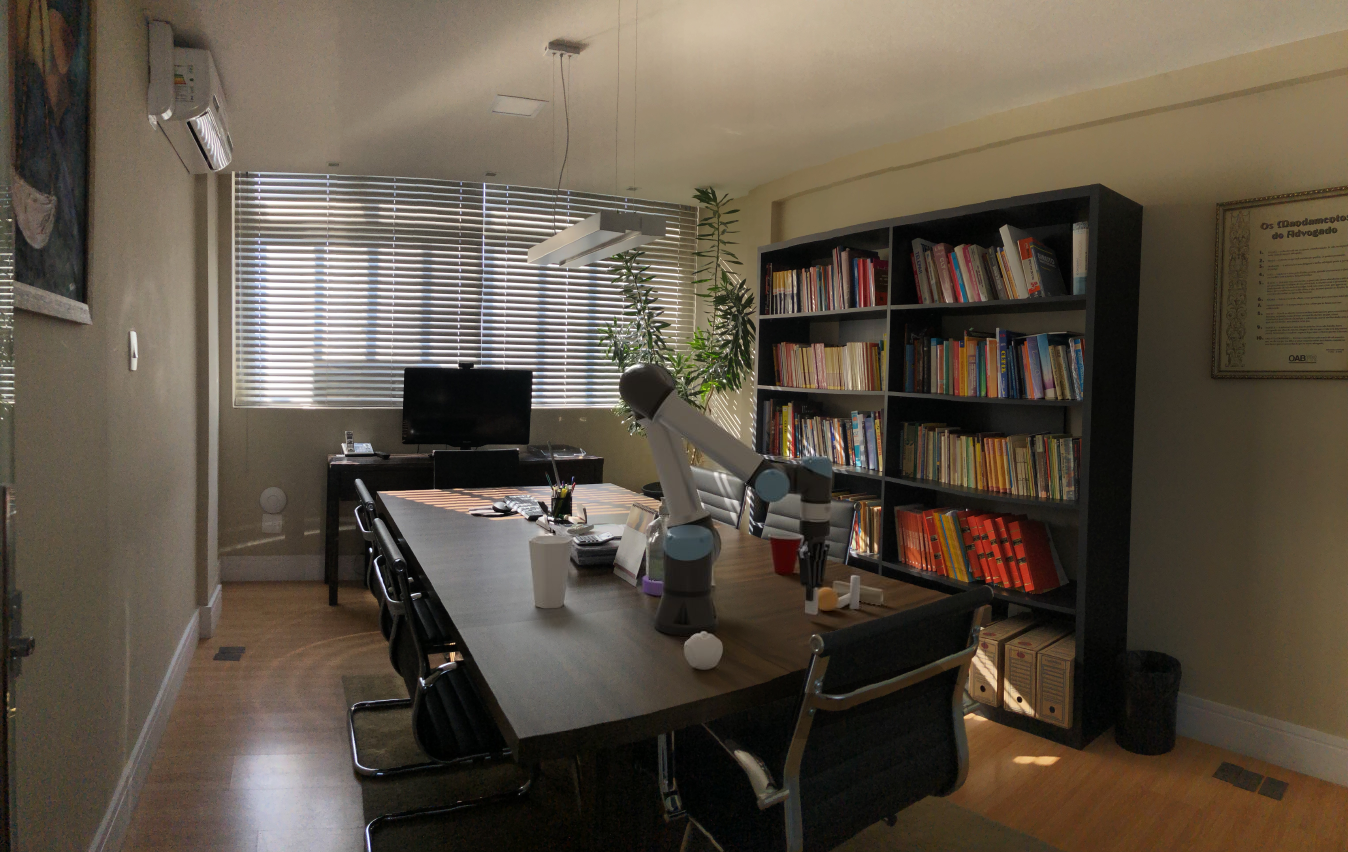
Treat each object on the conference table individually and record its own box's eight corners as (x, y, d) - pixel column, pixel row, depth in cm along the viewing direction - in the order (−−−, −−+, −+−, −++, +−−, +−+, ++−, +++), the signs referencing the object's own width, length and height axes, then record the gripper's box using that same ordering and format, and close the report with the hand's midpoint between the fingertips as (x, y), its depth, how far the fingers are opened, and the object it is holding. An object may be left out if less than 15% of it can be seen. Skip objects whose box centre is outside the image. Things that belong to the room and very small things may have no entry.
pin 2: (854, 609, 210) (856, 577, 210) (847, 607, 212) (848, 575, 212) (860, 608, 212) (862, 576, 211) (853, 606, 214) (855, 574, 213)
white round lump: (720, 662, 168) (721, 626, 168) (724, 675, 160) (725, 637, 160) (682, 661, 168) (683, 625, 167) (684, 675, 160) (685, 636, 160)
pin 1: (840, 597, 212) (852, 591, 218) (832, 600, 213) (845, 594, 220) (844, 606, 211) (856, 599, 218) (836, 609, 212) (849, 602, 219)
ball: (841, 603, 211) (836, 615, 206) (819, 602, 214) (813, 614, 209) (839, 583, 209) (834, 595, 204) (816, 582, 212) (811, 594, 207)
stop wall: (879, 605, 215) (880, 591, 215) (832, 595, 224) (832, 581, 223) (882, 604, 217) (883, 589, 216) (835, 594, 225) (836, 580, 225)
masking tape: (647, 597, 217) (648, 583, 217) (638, 586, 229) (638, 573, 228) (689, 595, 221) (689, 581, 220) (677, 585, 232) (678, 571, 232)
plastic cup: (800, 569, 255) (802, 531, 254) (802, 577, 244) (804, 538, 243) (766, 567, 256) (767, 530, 255) (766, 575, 245) (768, 536, 244)
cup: (560, 612, 200) (562, 544, 199) (522, 609, 202) (523, 542, 201) (575, 600, 211) (576, 536, 210) (538, 597, 213) (540, 533, 212)
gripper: (815, 524, 191) (811, 621, 192) (840, 517, 201) (837, 610, 202) (788, 520, 196) (784, 615, 197) (814, 514, 206) (810, 604, 207)
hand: (811, 612), depth 200 cm, fingers closed
